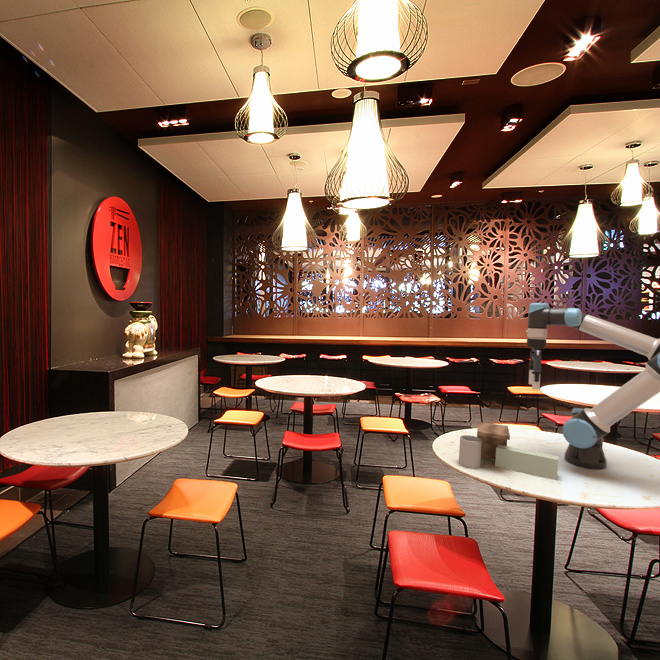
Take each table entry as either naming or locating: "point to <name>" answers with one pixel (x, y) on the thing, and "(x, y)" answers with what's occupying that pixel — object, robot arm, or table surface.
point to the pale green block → (527, 461)
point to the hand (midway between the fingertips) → (533, 386)
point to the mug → (470, 451)
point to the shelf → (492, 438)
